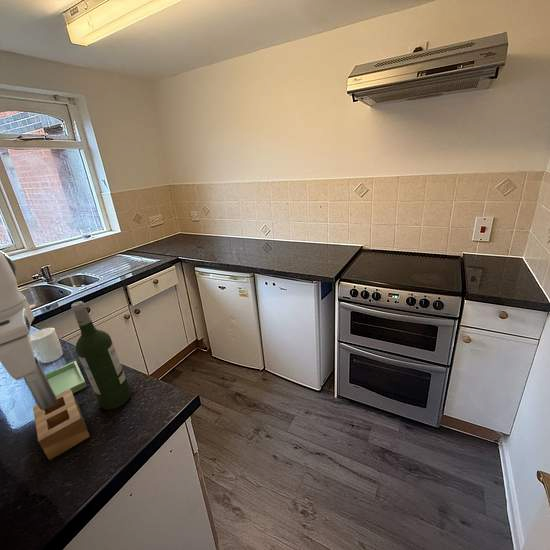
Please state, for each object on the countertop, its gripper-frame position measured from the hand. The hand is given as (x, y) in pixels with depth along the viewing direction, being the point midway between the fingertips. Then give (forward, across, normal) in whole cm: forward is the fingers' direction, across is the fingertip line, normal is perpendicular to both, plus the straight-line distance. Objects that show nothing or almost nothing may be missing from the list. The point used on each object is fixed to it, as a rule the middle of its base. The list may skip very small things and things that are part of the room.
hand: (32, 374), depth 65 cm
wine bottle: (+20, -4, +13) cm, 24 cm away
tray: (+20, -25, +2) cm, 32 cm away
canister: (+9, 0, 0) cm, 9 cm away
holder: (+19, -3, 0) cm, 20 cm away
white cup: (+20, -47, +2) cm, 51 cm away
